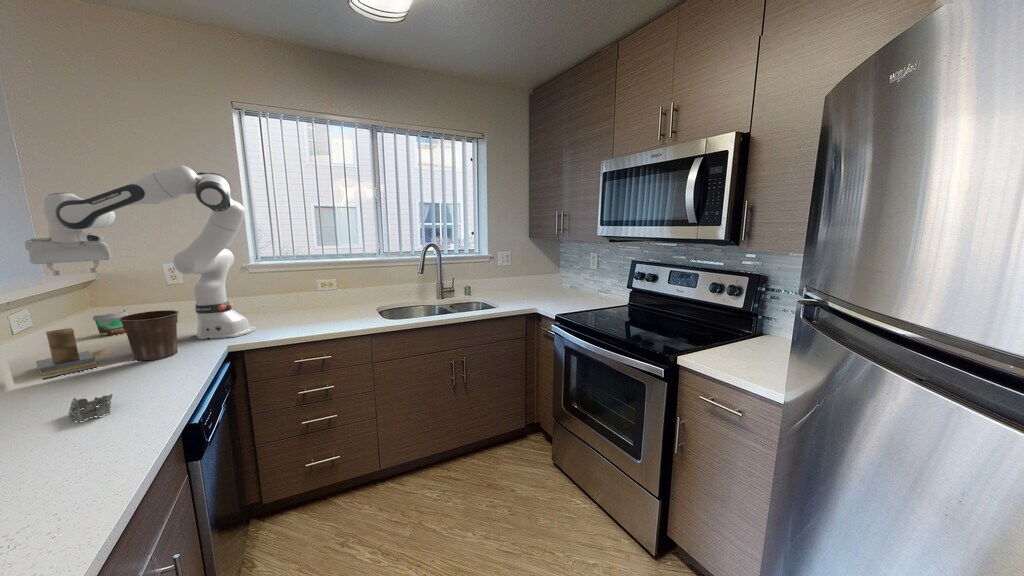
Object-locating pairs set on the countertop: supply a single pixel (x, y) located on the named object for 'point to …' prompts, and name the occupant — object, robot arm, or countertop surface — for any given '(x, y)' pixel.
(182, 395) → the countertop surface
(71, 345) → the crate
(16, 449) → the countertop surface
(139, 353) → the plant pot
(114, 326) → the food container
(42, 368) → the dock
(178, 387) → the countertop surface
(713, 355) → the countertop surface
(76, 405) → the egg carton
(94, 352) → the pallet
